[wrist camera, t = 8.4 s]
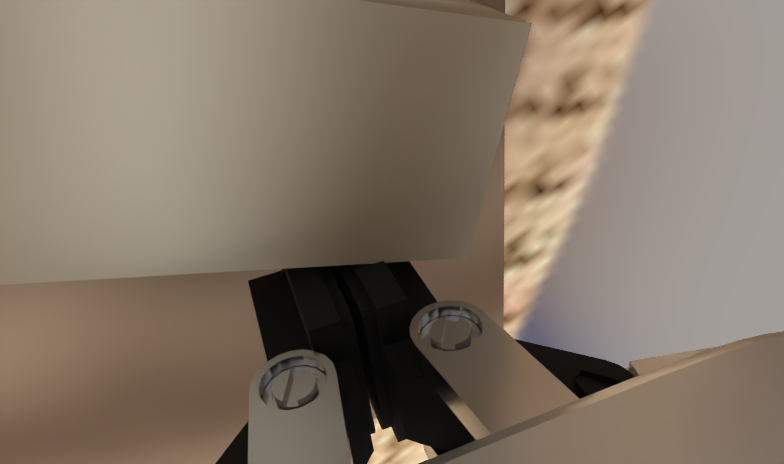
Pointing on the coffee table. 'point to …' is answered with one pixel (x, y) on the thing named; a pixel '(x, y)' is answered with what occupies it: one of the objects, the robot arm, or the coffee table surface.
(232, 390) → the brown board with blocks
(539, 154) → the coffee table surface
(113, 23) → the folding leg
